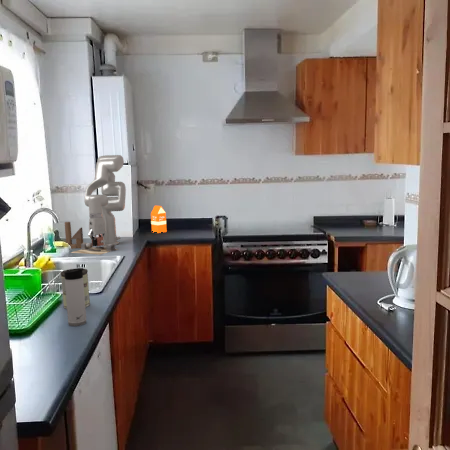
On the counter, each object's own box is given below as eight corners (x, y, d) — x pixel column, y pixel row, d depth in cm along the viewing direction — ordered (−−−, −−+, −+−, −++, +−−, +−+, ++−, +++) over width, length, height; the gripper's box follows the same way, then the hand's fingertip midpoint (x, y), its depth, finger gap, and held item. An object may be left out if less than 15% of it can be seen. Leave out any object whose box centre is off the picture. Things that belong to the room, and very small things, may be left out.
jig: (90, 249, 332) (89, 240, 332) (119, 250, 322) (118, 242, 321) (70, 254, 316) (69, 245, 316) (100, 256, 306) (99, 247, 305)
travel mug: (82, 326, 181) (78, 270, 179) (65, 326, 183) (60, 270, 180) (90, 320, 187) (86, 266, 185) (73, 320, 189) (69, 266, 186)
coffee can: (67, 302, 212) (64, 268, 210) (92, 301, 212) (90, 267, 210) (60, 310, 202) (57, 274, 200) (86, 309, 202) (84, 273, 200)
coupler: (95, 244, 325) (95, 236, 324) (105, 245, 321) (105, 237, 321) (90, 245, 321) (89, 237, 320) (100, 246, 317) (99, 238, 316)
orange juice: (158, 233, 388) (156, 206, 385) (151, 232, 395) (150, 205, 392) (166, 231, 393) (165, 205, 391) (160, 230, 400) (158, 204, 397)
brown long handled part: (82, 250, 330) (80, 222, 327) (65, 250, 330) (63, 222, 328) (84, 249, 333) (81, 221, 331) (67, 249, 334) (65, 221, 331)
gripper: (91, 217, 310) (93, 247, 312) (109, 214, 325) (111, 243, 327) (81, 217, 313) (83, 247, 315) (100, 214, 328) (102, 242, 330)
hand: (97, 245), depth 321 cm, fingers closed on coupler, 5 cm apart
